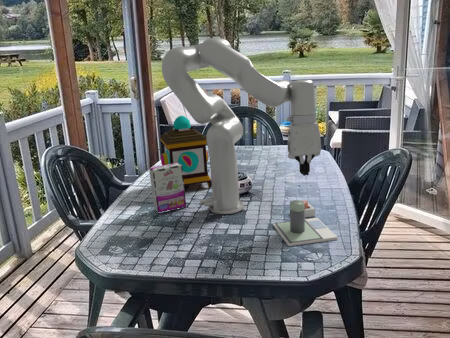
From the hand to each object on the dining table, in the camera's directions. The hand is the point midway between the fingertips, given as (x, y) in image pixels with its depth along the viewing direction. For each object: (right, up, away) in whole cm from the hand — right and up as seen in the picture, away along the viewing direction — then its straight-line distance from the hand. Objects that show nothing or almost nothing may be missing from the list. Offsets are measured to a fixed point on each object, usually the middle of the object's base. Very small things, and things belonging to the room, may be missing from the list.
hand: (304, 174), depth 146 cm
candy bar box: (-47, -13, +16) cm, 51 cm away
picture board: (-2, -18, -10) cm, 21 cm away
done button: (0, -12, +4) cm, 13 cm away
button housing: (0, -14, +4) cm, 14 cm away
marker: (-4, -17, -11) cm, 21 cm away
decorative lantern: (-43, -6, +42) cm, 60 cm away
